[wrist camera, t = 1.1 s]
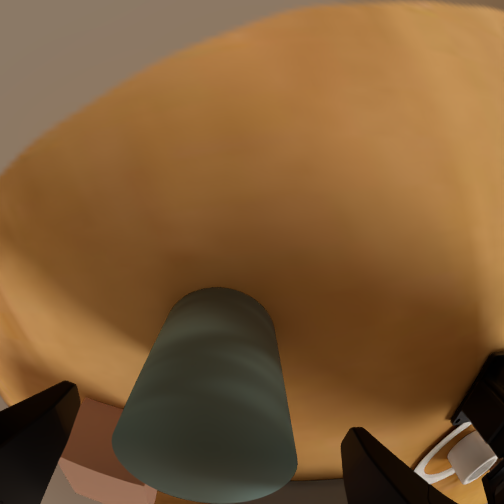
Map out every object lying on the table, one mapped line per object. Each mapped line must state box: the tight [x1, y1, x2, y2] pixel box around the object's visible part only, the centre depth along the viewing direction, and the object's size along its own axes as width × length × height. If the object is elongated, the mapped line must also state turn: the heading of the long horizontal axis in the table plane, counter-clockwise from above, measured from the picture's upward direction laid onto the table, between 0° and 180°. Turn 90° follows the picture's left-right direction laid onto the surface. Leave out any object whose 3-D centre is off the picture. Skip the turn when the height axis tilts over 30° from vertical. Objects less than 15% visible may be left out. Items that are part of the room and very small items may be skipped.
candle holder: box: [414, 422, 497, 484], centre depth 16 cm, size 12×12×4 cm
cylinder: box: [112, 287, 298, 504], centre depth 9 cm, size 5×5×7 cm
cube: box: [58, 397, 157, 504], centre depth 12 cm, size 5×5×5 cm
